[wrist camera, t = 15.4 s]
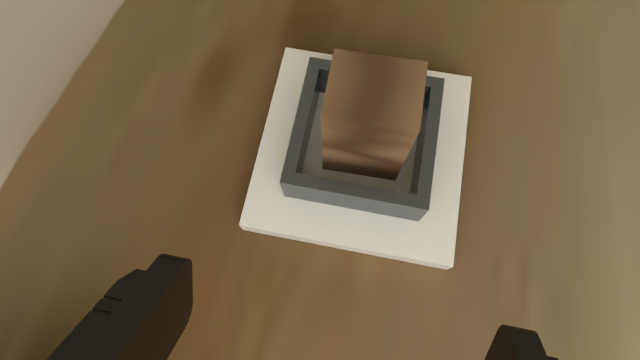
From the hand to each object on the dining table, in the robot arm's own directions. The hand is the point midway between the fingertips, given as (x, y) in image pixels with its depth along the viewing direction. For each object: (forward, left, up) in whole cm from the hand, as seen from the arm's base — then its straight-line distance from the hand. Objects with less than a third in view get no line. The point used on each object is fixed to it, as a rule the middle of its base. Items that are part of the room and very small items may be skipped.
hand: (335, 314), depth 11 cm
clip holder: (0, -12, -17) cm, 21 cm away
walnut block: (0, -11, -16) cm, 19 cm away
